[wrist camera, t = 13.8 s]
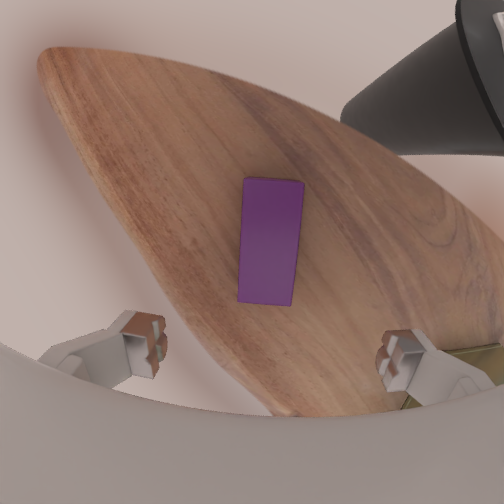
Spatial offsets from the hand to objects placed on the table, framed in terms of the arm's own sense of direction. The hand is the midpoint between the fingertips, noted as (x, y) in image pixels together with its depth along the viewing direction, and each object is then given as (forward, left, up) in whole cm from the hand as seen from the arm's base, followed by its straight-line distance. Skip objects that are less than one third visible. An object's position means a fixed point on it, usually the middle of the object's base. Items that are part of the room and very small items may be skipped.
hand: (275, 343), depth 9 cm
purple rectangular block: (0, -1, -13) cm, 13 cm away
